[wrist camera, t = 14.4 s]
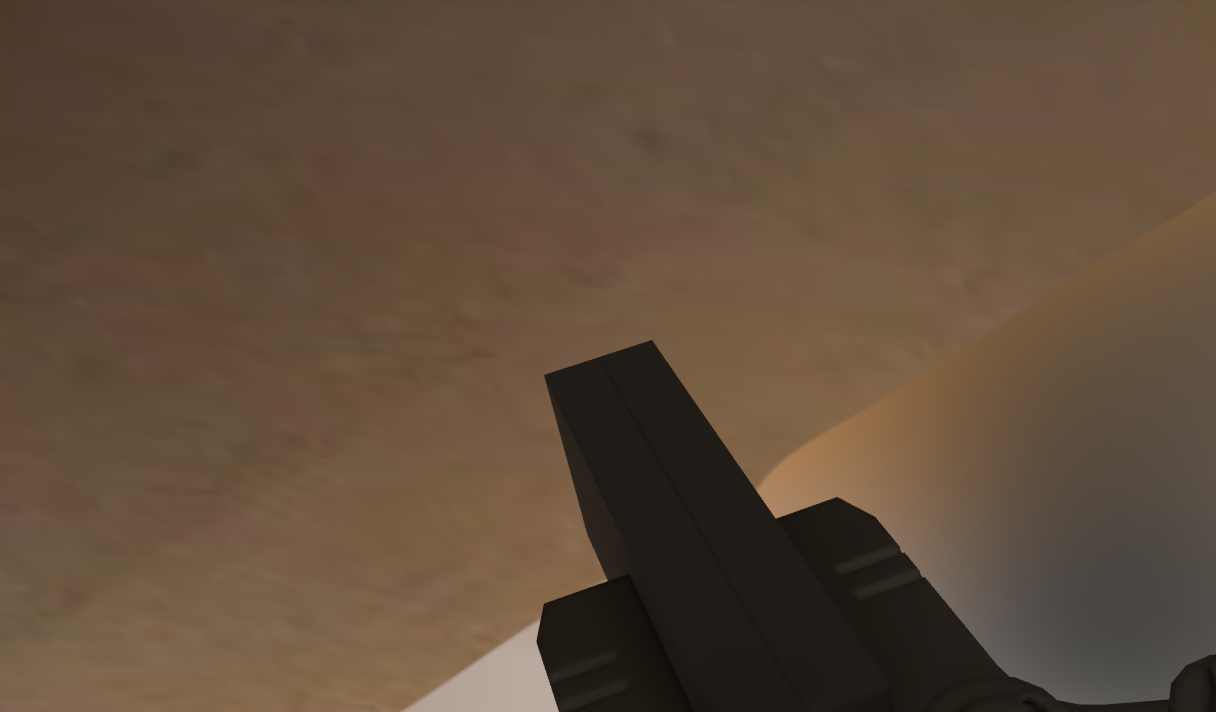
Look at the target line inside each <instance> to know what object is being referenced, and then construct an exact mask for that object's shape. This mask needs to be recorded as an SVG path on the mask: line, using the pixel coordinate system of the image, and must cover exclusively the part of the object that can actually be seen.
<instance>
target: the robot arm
mask: <svg viewBox="0 0 1216 712" xmlns="http://www.w3.org/2000/svg"><path fill="white" fill-rule="evenodd" d="M544 376H545V380H546V384H547V387H548V391H549V395H550V398H551V402H552V406H553V409H554V413H555V417H556V420H557V424H558V428H559V431H560V435H561V439H562V442H563V446H564V450H565V454H566V457H567V461H568V465H569V468H570V472H571V476H572V479H573V483H574V487H575V490H576V494H577V498H578V501H579V505H580V509H581V512H582V516H583V520H584V523H585V527H586V531H587V534H588V537H589V539H590V541H591V543H592V546H593V548H594V550H595V552H596V555H597V557H598V559H599V562H600V564H601V566H602V568H603V571H604V573H605V575H606V577H607V580H608V581H607V582H604V583H601V584H598V585H596V586H593V587H590V588H587V589H584V590H581V591H579V592H576V593H573V594H570V595H567V596H564V597H562V598H559V599H556V600H553V601H550V602H547V603H545V604H544V606H543V611H542V616H541V621H540V626H539V631H538V636H537V645H538V648H539V651H540V654H541V657H542V661H543V664H544V667H545V670H546V673H547V676H548V679H549V682H550V685H551V688H552V692H553V694H554V698H555V701H556V704H557V707H558V710H559V712H1216V655H1209V656H1207V657H1205V658H1202V659H1200V660H1198V661H1195V662H1193V663H1191V664H1189V665H1186V666H1185V668H1184V669H1183V670H1182V671H1181V672H1180V673H1179V675H1178V676H1177V677H1176V678H1175V680H1174V681H1173V682H1172V683H1171V690H1170V699H1169V700H1157V701H1144V702H1132V703H1119V704H1107V705H1079V704H1073V703H1068V702H1063V701H1058V700H1056V699H1055V698H1054V697H1053V696H1052V695H1050V694H1049V693H1048V692H1047V691H1045V690H1044V689H1043V688H1041V687H1038V686H1035V685H1033V684H1030V683H1028V682H1025V681H1023V680H1020V679H1018V678H1015V677H1009V676H1008V675H1007V674H1006V673H1005V672H1004V671H1003V670H1002V669H1001V668H1000V667H998V666H997V664H996V663H995V662H994V661H993V659H992V658H991V657H990V656H989V655H988V653H987V652H986V651H985V650H984V648H983V647H982V646H981V645H980V644H979V642H978V641H977V640H976V639H975V638H974V636H973V635H972V634H971V633H970V632H969V630H968V629H967V628H966V627H965V625H964V624H963V623H962V622H961V621H960V619H959V618H958V617H957V616H956V615H955V613H954V612H953V611H952V610H951V608H950V607H949V606H948V605H947V604H946V602H945V601H944V600H943V599H942V597H941V596H940V595H939V594H938V593H937V591H936V590H935V589H934V588H933V587H932V586H931V584H930V583H929V582H928V581H927V579H926V578H925V577H924V578H922V576H921V574H920V571H919V570H918V569H917V567H916V566H915V565H914V563H913V562H912V561H911V560H910V559H909V557H908V556H907V555H906V554H905V553H902V552H901V550H900V547H899V545H898V544H897V543H896V542H895V540H894V539H893V538H892V537H891V536H890V534H889V533H888V532H887V531H886V530H885V528H884V527H883V526H882V525H881V523H880V522H879V521H878V520H877V519H876V517H874V516H872V515H870V514H868V513H867V512H865V511H863V510H861V509H859V508H857V507H855V506H853V505H851V504H849V503H847V502H846V501H844V500H842V499H840V498H838V497H836V498H833V499H830V500H827V501H825V502H822V503H819V504H816V505H813V506H811V507H808V508H805V509H802V510H799V511H796V512H794V513H791V514H788V515H785V516H782V517H779V518H777V519H775V517H774V516H773V514H772V513H771V511H770V510H769V509H768V507H767V506H766V504H765V503H764V501H763V500H762V498H761V497H760V496H759V494H758V493H757V491H756V490H755V488H754V487H753V485H752V484H751V483H750V481H749V480H748V478H747V477H746V475H745V474H744V472H743V471H742V470H741V468H740V467H739V465H738V464H737V462H736V461H735V459H734V458H733V457H732V455H731V454H730V452H729V451H728V449H727V448H726V446H725V445H724V444H723V442H722V441H721V439H720V438H719V436H718V435H717V433H716V432H715V431H714V429H713V428H712V426H711V425H710V423H709V422H708V420H707V419H706V418H705V416H704V415H703V413H702V412H701V410H700V409H699V407H698V406H697V405H696V403H695V402H694V400H693V399H692V397H691V396H690V394H689V393H688V392H687V390H686V389H685V387H684V386H683V384H682V383H681V381H680V380H679V379H678V377H677V376H676V374H675V373H674V371H673V370H672V369H671V367H670V366H669V364H668V363H667V361H666V360H665V358H664V357H663V356H662V354H661V353H660V351H659V350H658V348H657V347H656V345H655V344H654V343H653V341H652V340H651V341H647V342H644V343H641V344H638V345H635V346H632V347H629V348H626V349H623V350H620V351H617V352H614V353H611V354H607V355H604V356H601V357H598V358H595V359H592V360H589V361H586V362H583V363H580V364H577V365H574V366H570V367H567V368H564V369H561V370H558V371H555V372H552V373H549V374H546V375H544Z"/></svg>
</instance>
